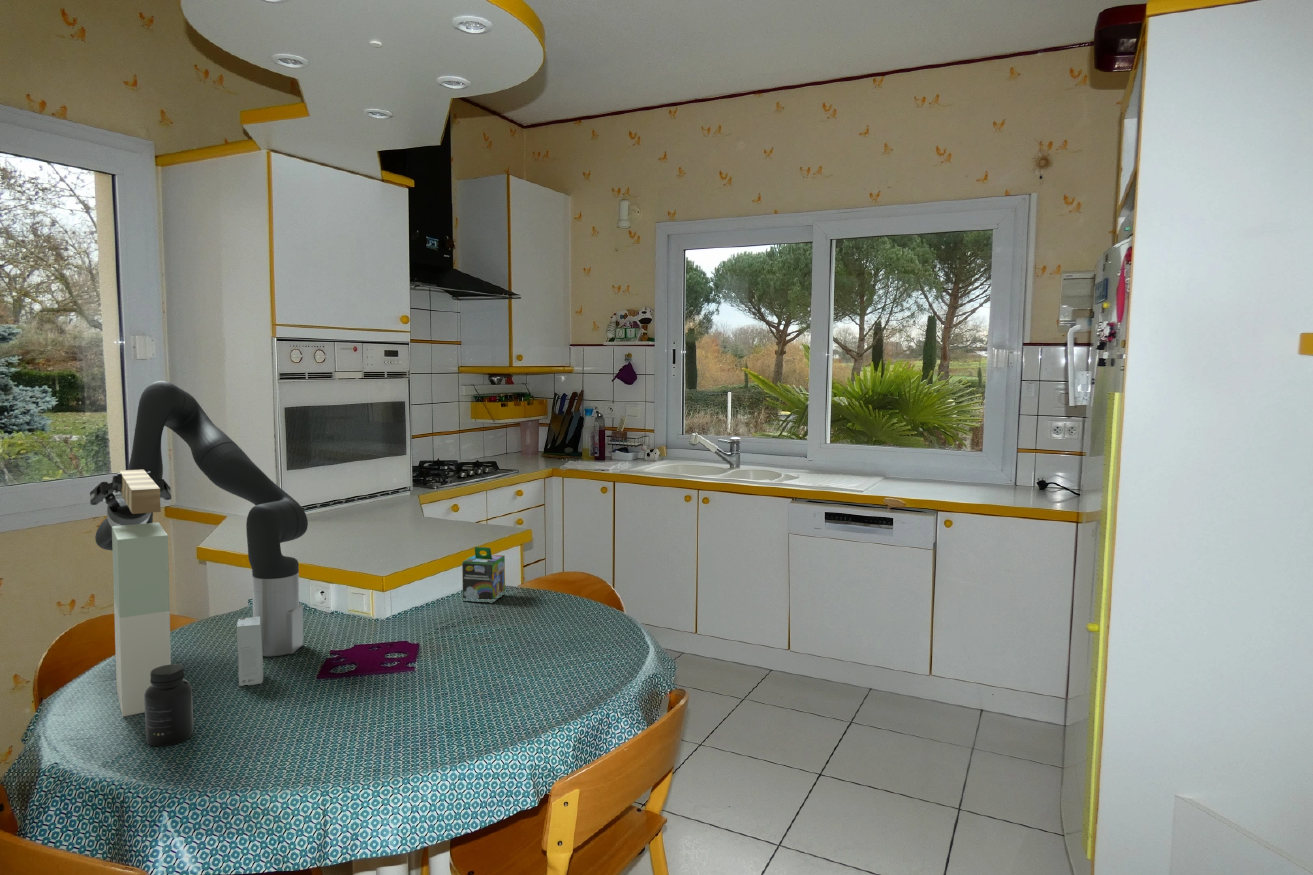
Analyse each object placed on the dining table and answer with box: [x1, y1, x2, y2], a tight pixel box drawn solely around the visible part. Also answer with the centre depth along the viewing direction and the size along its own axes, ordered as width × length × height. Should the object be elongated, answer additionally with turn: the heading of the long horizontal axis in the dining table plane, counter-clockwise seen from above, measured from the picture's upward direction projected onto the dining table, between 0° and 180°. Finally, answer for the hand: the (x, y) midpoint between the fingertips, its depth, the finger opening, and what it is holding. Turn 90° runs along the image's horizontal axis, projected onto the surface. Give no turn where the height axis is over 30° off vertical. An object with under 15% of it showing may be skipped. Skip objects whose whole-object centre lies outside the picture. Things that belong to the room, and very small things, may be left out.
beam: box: [118, 469, 161, 514], centre depth 141 cm, size 28×4×4 cm, turn 38°
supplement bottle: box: [144, 663, 194, 747], centre depth 130 cm, size 7×7×12 cm
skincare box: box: [236, 616, 264, 687], centre depth 155 cm, size 6×4×12 cm
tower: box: [112, 521, 172, 717], centre depth 144 cm, size 14×8×32 cm, turn 38°
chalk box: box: [461, 546, 506, 599], centre depth 215 cm, size 9×9×15 cm
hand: (134, 477), depth 147 cm, fingers closed on beam, 4 cm apart
